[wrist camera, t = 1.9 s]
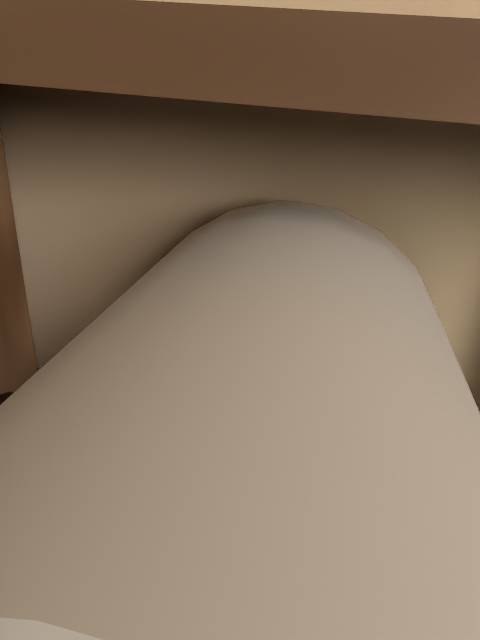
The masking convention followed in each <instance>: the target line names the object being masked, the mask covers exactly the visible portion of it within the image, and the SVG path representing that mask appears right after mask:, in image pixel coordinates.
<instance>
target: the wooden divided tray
mask: <svg viewBox="0 0 480 640" xmlns="http://www.w3.org/2000/svg"><path fill="white" fill-rule="evenodd" d="M0 83H1V84H13V85H25V86H36V87H48V88H60V89H71V90H83V91H95V92H106V93H118V94H129V95H141V96H153V97H164V98H176V99H188V100H199V101H211V102H223V103H234V104H246V105H258V106H269V107H281V108H293V109H304V110H316V111H328V112H339V113H351V114H363V115H374V116H386V117H398V118H409V119H421V120H433V121H444V122H456V123H468V124H479V125H480V19H472V18H453V17H435V16H416V15H398V14H379V13H361V12H342V11H324V10H305V9H286V8H268V7H249V6H231V5H212V4H194V3H175V2H157V1H138V0H0ZM36 372H37V366H36V359H35V352H34V346H33V339H32V333H31V326H30V320H29V313H28V307H27V300H26V293H25V287H24V280H23V274H22V267H21V261H20V254H19V248H18V241H17V234H16V228H15V221H14V215H13V208H12V202H11V195H10V189H9V182H8V175H7V169H6V162H5V156H4V149H3V143H2V136H1V130H0V395H1V394H3V393H6V392H10V391H11V392H15V391H16V390H17V389H19V388H20V387H21V386H22V385H23V384H24V383H25V382H26V381H27V380H29V379H30V378H31V377H32V376H33V375H34V374H35V373H36Z"/></svg>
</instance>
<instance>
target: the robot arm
mask: <svg viewBox="0 0 480 640" xmlns="http://www.w3.org/2000/svg"><path fill="white" fill-rule="evenodd" d="M13 393H14V392H11V391H10V392H6V393H3V394H1V395H0V405H1V404H2V403H3V402H4V401H5V400H6V399H8V398H9V397H10V396H11V395H12V394H13Z"/></svg>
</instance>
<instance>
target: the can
mask: <svg viewBox="0 0 480 640" xmlns="http://www.w3.org/2000/svg"><path fill="white" fill-rule="evenodd" d="M0 640H480V412H479V410H478V407H477V405H476V403H475V400H474V398H473V396H472V393H471V391H470V389H469V386H468V384H467V382H466V379H465V377H464V375H463V372H462V370H461V368H460V365H459V363H458V361H457V358H456V356H455V354H454V351H453V349H452V347H451V344H450V342H449V340H448V337H447V335H446V333H445V330H444V328H443V326H442V323H441V321H440V319H439V316H438V314H437V312H436V309H435V307H434V305H433V303H432V300H431V298H430V296H429V294H428V292H427V289H426V287H425V285H424V283H423V281H422V278H421V276H420V274H419V272H418V270H417V267H416V266H415V265H414V264H413V263H412V262H411V261H410V260H409V259H408V258H407V257H406V256H405V255H404V254H403V253H402V252H401V251H400V250H399V249H398V248H397V247H396V246H395V245H394V244H393V243H392V242H391V241H390V240H389V239H388V238H387V237H386V236H385V235H384V234H383V233H382V232H381V231H380V230H378V229H376V228H374V227H372V226H370V225H368V224H366V223H363V222H361V221H359V220H357V219H355V218H353V217H351V216H349V215H347V214H345V213H343V212H341V211H339V210H337V209H335V208H332V207H325V206H318V205H311V204H303V203H296V202H289V201H282V200H281V201H275V202H270V203H264V204H259V205H253V206H248V207H242V208H237V209H232V210H230V211H228V212H226V213H225V214H223V215H221V216H219V217H217V218H216V219H214V220H212V221H210V222H208V223H207V224H205V225H203V226H201V227H200V228H198V229H196V230H194V231H192V232H191V233H190V234H189V235H188V236H186V237H185V238H184V239H183V240H182V241H181V242H180V243H179V244H178V245H177V246H175V247H174V248H173V249H172V250H171V251H170V252H169V253H168V254H167V255H165V256H164V257H163V258H162V259H161V260H160V261H159V262H158V263H157V264H156V265H154V266H153V267H152V268H151V269H150V270H149V271H148V272H147V273H146V274H144V275H143V276H142V277H141V278H140V279H139V280H138V281H137V282H136V283H135V284H133V285H132V286H131V287H130V288H129V289H128V290H127V291H126V292H125V293H123V294H122V295H121V296H120V297H119V298H118V299H117V300H116V301H115V302H114V303H112V304H111V305H110V306H109V307H108V308H107V309H106V310H105V311H104V312H103V313H101V314H100V315H99V316H98V317H97V318H96V319H95V320H94V321H93V322H91V323H90V324H89V325H88V326H87V327H86V328H85V329H84V330H83V331H82V332H80V333H79V334H78V335H77V336H76V337H75V338H74V339H73V340H72V341H70V342H69V343H68V344H67V345H66V346H65V347H64V348H63V349H62V350H61V351H59V352H58V353H57V354H56V355H55V356H54V357H53V358H52V359H51V360H50V361H48V362H47V363H46V364H45V365H44V366H43V367H42V368H41V369H40V370H38V371H37V372H36V373H35V374H34V375H33V376H32V377H31V378H30V379H29V380H27V381H26V382H25V383H24V384H23V385H22V386H21V387H20V388H19V389H17V390H16V391H15V392H14V393H13V394H12V395H11V396H10V397H9V398H8V399H6V400H5V401H4V402H3V403H2V404H1V405H0Z"/></svg>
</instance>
